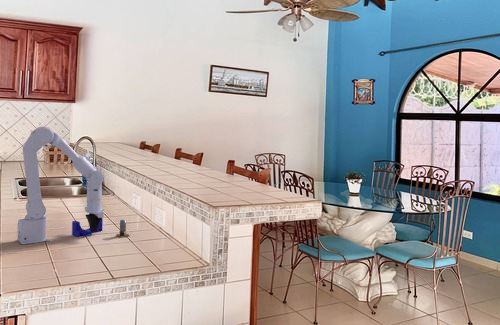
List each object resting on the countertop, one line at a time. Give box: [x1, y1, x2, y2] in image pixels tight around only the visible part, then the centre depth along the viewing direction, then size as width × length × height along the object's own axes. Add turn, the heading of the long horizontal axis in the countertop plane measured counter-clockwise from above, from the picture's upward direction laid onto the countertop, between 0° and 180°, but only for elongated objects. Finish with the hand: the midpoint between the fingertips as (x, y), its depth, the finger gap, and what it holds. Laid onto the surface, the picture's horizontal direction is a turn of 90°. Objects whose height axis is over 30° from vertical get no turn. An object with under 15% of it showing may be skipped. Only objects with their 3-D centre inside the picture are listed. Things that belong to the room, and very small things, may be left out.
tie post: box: [115, 219, 130, 239], centre depth 166 cm, size 4×4×7 cm
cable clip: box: [71, 217, 104, 238], centre depth 167 cm, size 12×4×6 cm, turn 143°
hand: (93, 231), depth 166 cm, fingers closed
